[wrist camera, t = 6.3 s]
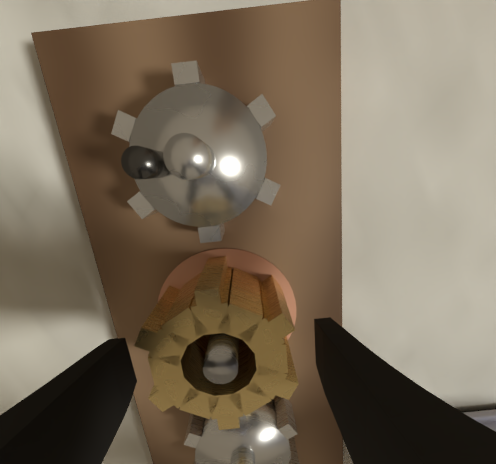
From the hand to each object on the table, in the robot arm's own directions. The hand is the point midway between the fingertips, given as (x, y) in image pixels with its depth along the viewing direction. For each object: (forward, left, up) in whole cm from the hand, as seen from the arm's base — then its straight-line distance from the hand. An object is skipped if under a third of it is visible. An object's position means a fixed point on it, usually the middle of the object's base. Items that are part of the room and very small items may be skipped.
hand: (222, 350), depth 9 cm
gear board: (0, 0, -4) cm, 4 cm away
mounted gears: (0, 0, -2) cm, 2 cm away
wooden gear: (0, 0, -2) cm, 2 cm away
